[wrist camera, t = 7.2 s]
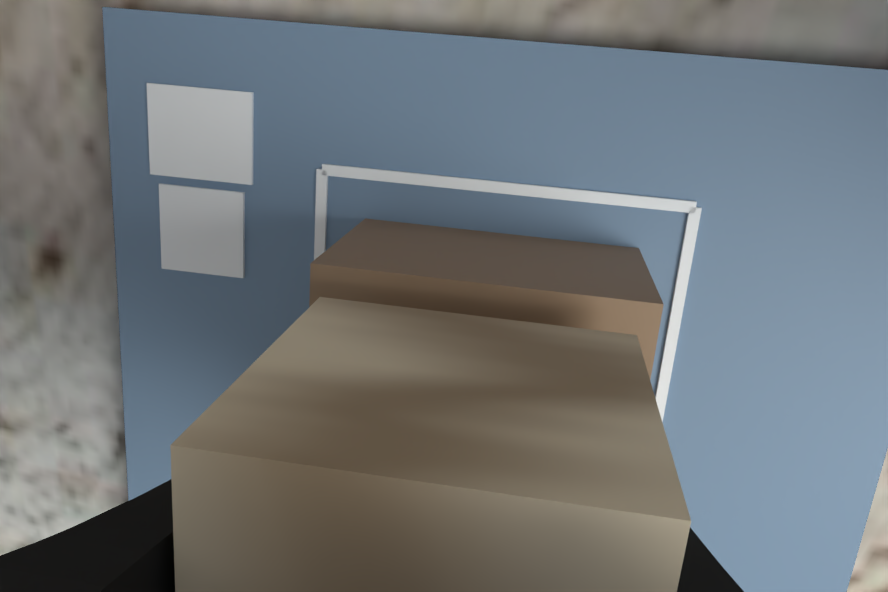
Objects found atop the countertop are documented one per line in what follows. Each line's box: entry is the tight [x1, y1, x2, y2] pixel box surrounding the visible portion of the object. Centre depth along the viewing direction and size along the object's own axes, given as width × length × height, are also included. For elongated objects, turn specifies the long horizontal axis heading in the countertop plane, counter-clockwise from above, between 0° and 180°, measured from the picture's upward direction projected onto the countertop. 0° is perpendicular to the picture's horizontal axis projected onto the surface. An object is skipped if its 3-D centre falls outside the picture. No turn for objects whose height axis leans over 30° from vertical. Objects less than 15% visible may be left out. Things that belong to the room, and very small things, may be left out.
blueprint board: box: [102, 7, 888, 592], centre depth 16 cm, size 18×14×5 cm
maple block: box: [170, 297, 691, 592], centre depth 10 cm, size 5×5×5 cm
